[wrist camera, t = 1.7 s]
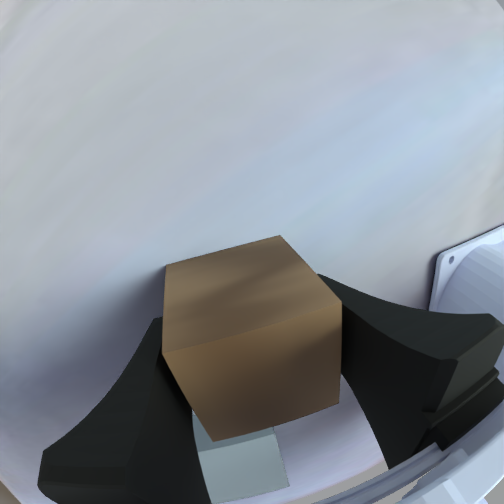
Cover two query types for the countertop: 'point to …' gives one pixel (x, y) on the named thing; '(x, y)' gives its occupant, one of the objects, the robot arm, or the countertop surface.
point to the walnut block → (251, 337)
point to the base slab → (240, 464)
